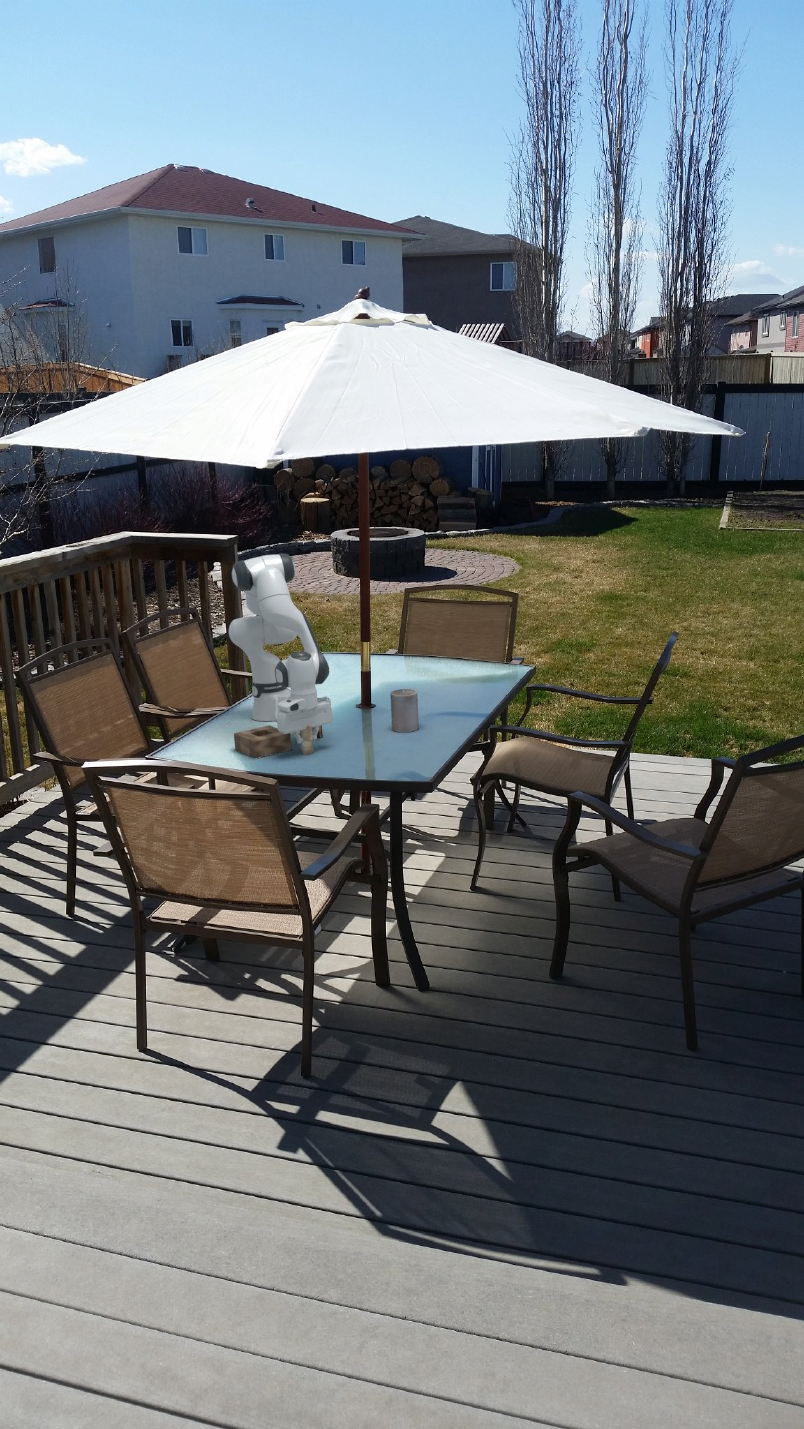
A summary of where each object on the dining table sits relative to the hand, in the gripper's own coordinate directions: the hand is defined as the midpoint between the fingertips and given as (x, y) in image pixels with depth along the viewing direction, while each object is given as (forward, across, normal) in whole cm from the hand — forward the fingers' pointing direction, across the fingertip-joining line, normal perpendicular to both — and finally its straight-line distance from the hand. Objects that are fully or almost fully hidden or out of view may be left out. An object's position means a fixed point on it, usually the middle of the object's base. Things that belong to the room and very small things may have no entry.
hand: (306, 741), depth 358 cm
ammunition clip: (+4, -12, -17) cm, 21 cm away
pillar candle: (+4, -41, +1) cm, 41 cm away
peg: (+4, 0, 0) cm, 4 cm away
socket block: (+4, +9, -14) cm, 17 cm away
